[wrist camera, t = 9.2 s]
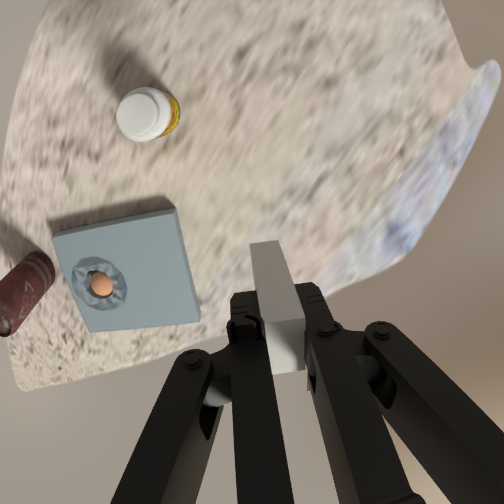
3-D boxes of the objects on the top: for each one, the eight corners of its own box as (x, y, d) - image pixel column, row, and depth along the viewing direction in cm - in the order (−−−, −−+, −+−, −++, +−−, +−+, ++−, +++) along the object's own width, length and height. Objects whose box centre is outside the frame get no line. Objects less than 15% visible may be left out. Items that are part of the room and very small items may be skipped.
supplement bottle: (161, 145, 36) (139, 156, 26) (128, 118, 34) (96, 121, 24) (191, 110, 34) (178, 108, 25) (157, 83, 32) (133, 73, 23)
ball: (91, 267, 41) (84, 279, 38) (113, 263, 42) (107, 276, 38) (98, 288, 43) (92, 301, 39) (120, 285, 43) (115, 299, 40)
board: (58, 231, 39) (51, 237, 36) (176, 207, 39) (173, 213, 37) (94, 323, 45) (89, 332, 43) (200, 311, 46) (199, 321, 43)
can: (40, 242, 39) (-11, 290, 26) (63, 276, 42) (20, 332, 29) (19, 259, 40) (-29, 307, 27) (41, 290, 42) (0, 344, 30)
